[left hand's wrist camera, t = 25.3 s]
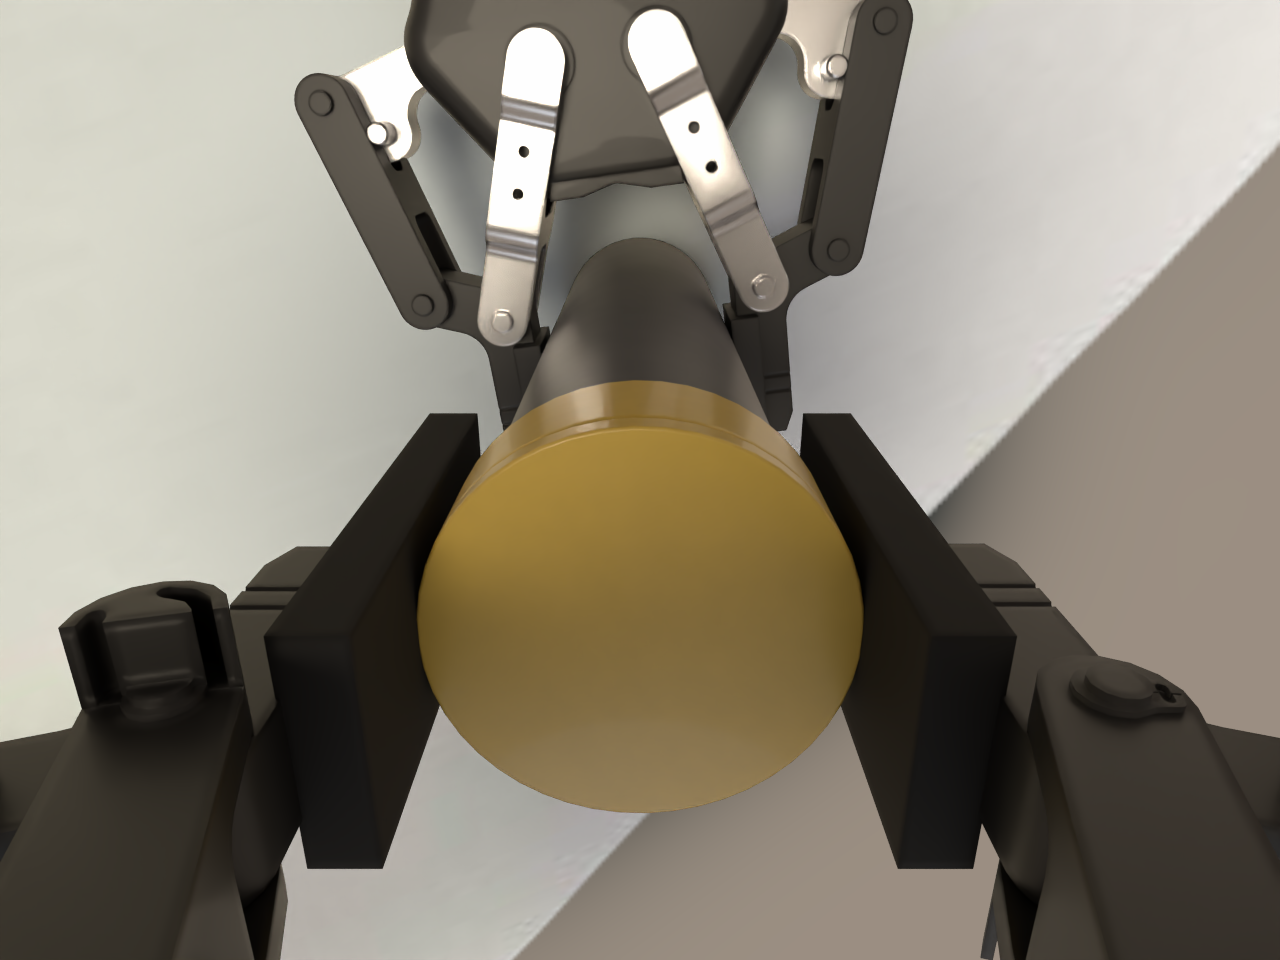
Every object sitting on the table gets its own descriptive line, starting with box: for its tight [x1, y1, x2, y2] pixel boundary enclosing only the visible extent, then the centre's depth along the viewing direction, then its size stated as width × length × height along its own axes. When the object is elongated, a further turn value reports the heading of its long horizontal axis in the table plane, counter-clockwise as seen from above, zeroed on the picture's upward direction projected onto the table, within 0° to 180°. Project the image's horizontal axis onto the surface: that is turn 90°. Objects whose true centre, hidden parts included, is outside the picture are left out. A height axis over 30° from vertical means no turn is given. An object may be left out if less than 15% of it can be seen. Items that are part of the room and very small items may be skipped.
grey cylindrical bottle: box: [511, 238, 769, 424], centre depth 20 cm, size 5×5×19 cm
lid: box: [417, 380, 864, 813], centre depth 11 cm, size 5×5×2 cm
